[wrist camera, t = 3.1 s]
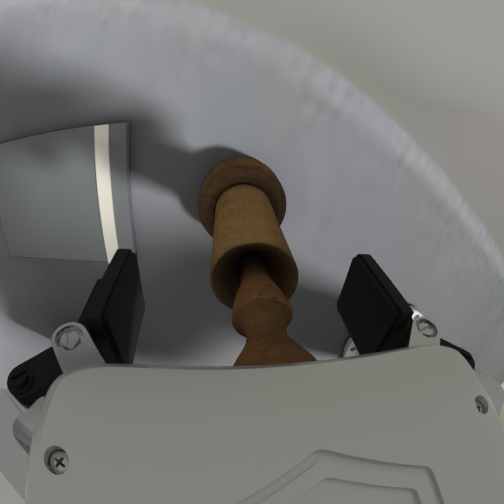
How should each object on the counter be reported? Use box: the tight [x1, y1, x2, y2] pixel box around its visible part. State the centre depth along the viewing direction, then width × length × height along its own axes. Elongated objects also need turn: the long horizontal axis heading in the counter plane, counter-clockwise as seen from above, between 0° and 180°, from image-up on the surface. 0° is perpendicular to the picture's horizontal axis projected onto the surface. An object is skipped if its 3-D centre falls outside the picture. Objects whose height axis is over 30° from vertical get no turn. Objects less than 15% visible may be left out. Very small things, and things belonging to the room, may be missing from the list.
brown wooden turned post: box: [198, 157, 317, 366], centre depth 14 cm, size 7×6×18 cm
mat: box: [0, 122, 137, 263], centre depth 19 cm, size 16×12×1 cm
